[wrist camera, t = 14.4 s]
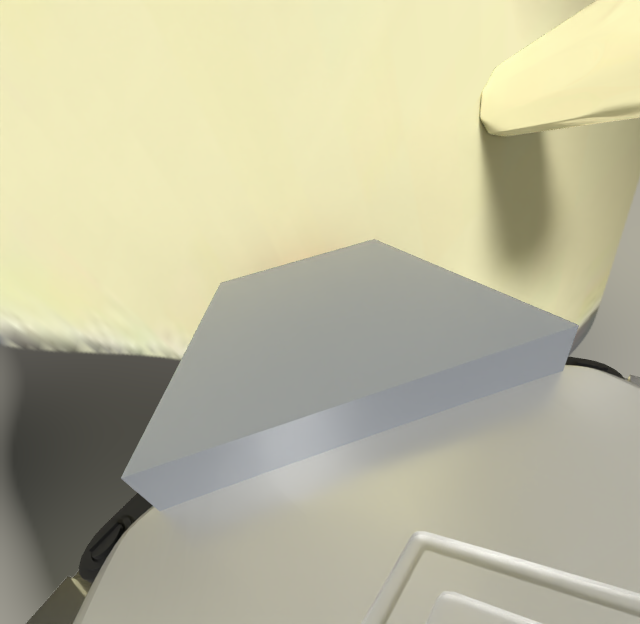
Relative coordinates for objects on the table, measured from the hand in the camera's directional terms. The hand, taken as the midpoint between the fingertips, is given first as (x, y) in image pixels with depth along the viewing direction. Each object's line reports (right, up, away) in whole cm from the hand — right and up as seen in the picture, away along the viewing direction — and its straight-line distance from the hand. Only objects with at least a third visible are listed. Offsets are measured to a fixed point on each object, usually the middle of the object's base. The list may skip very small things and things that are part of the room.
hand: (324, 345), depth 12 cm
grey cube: (0, +1, +2) cm, 2 cm away
